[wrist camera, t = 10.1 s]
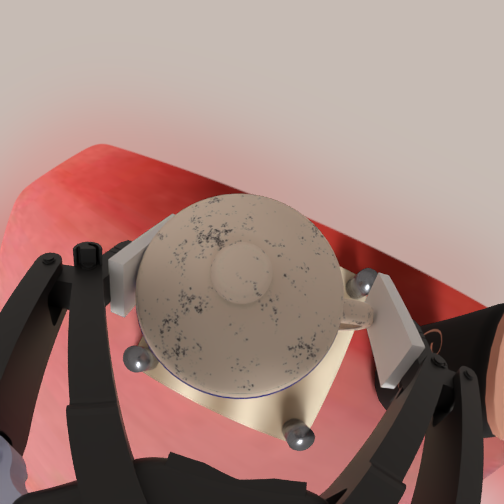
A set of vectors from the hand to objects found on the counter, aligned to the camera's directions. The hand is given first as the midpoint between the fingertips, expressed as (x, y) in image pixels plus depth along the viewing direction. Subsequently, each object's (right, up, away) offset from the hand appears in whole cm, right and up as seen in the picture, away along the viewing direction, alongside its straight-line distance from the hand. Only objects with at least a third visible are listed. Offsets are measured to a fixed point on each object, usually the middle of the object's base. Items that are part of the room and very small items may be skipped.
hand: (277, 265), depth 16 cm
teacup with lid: (-1, -4, +4) cm, 6 cm away
